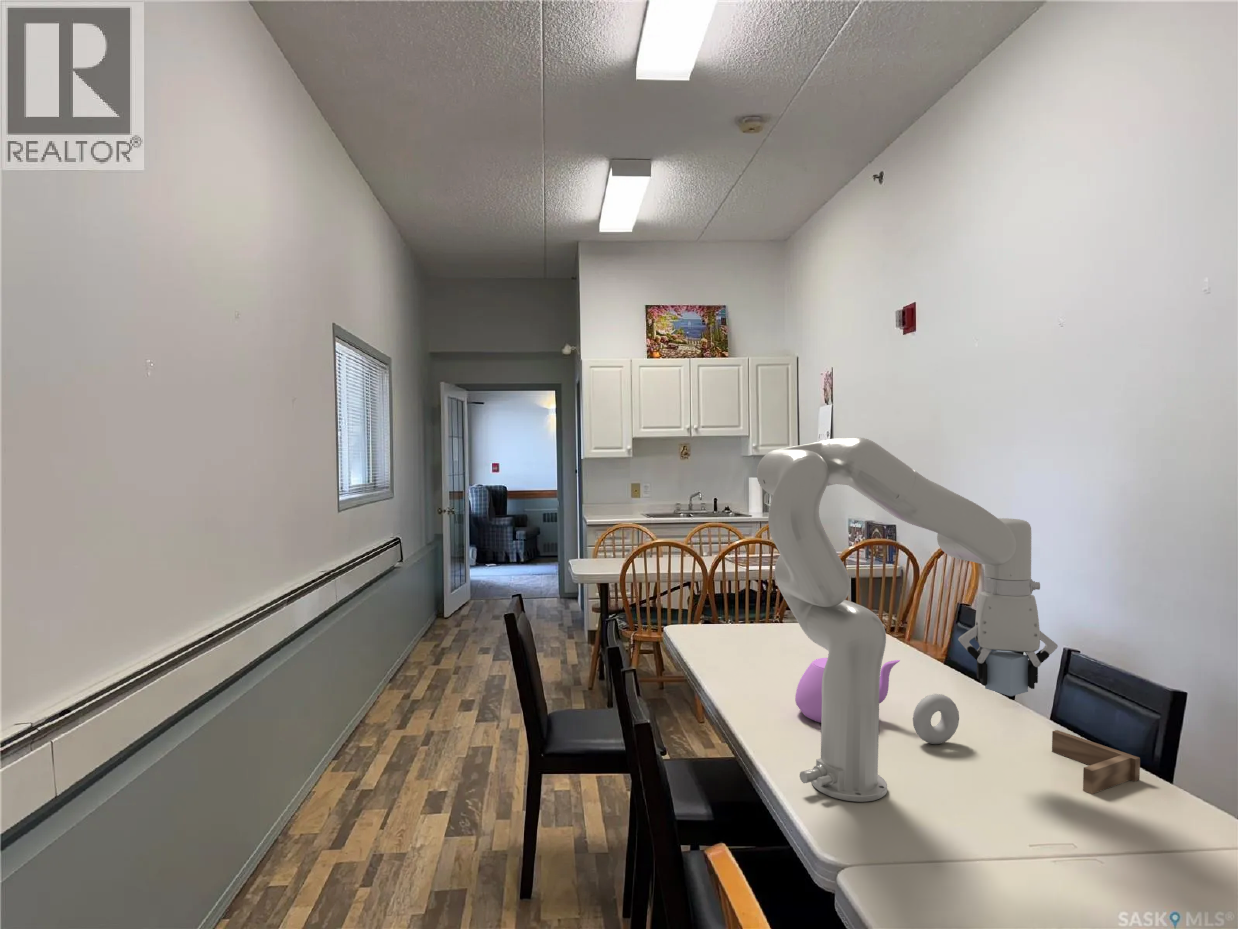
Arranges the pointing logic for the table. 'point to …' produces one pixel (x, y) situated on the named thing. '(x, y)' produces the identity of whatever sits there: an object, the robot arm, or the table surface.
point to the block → (1007, 672)
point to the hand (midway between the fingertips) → (1006, 684)
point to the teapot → (811, 688)
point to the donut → (925, 713)
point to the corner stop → (1097, 762)
